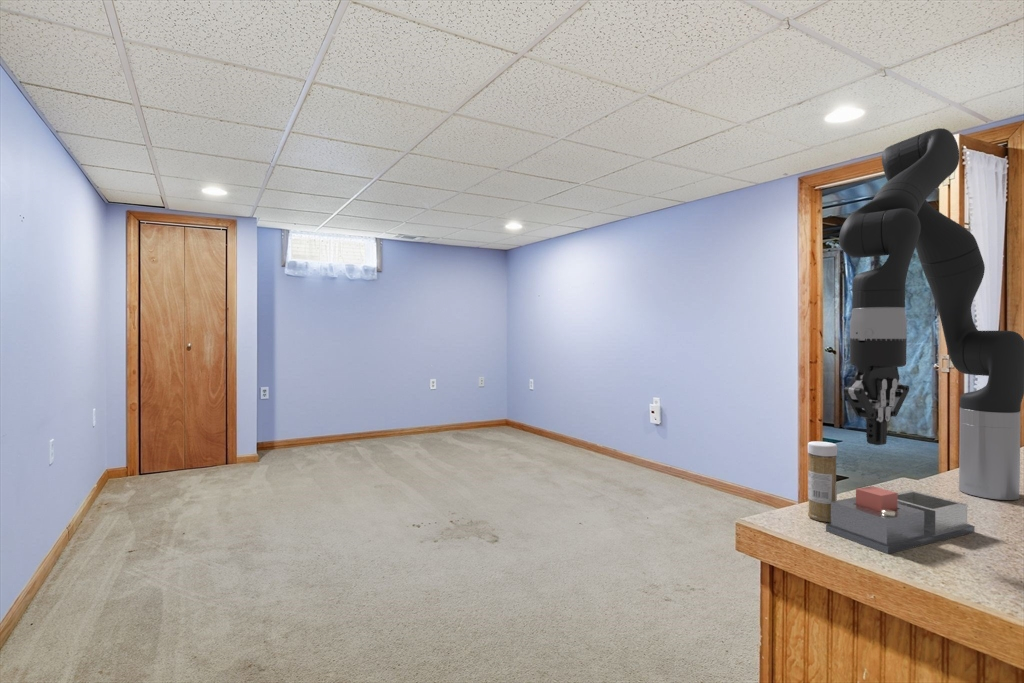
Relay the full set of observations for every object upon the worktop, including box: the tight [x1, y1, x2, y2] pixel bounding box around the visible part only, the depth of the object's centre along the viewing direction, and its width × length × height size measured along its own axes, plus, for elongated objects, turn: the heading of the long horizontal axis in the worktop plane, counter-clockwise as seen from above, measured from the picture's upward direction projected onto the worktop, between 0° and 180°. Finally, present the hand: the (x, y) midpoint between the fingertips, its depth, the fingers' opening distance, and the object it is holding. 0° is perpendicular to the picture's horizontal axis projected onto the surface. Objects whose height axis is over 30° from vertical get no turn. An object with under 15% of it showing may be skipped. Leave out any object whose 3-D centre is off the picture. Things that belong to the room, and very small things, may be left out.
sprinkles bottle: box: [807, 440, 838, 523], centre depth 95 cm, size 5×5×14 cm
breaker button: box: [855, 485, 899, 512], centre depth 86 cm, size 4×4×5 cm
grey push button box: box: [825, 490, 976, 554], centre depth 89 cm, size 22×10×6 cm, turn 113°
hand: (876, 443), depth 86 cm, fingers closed
